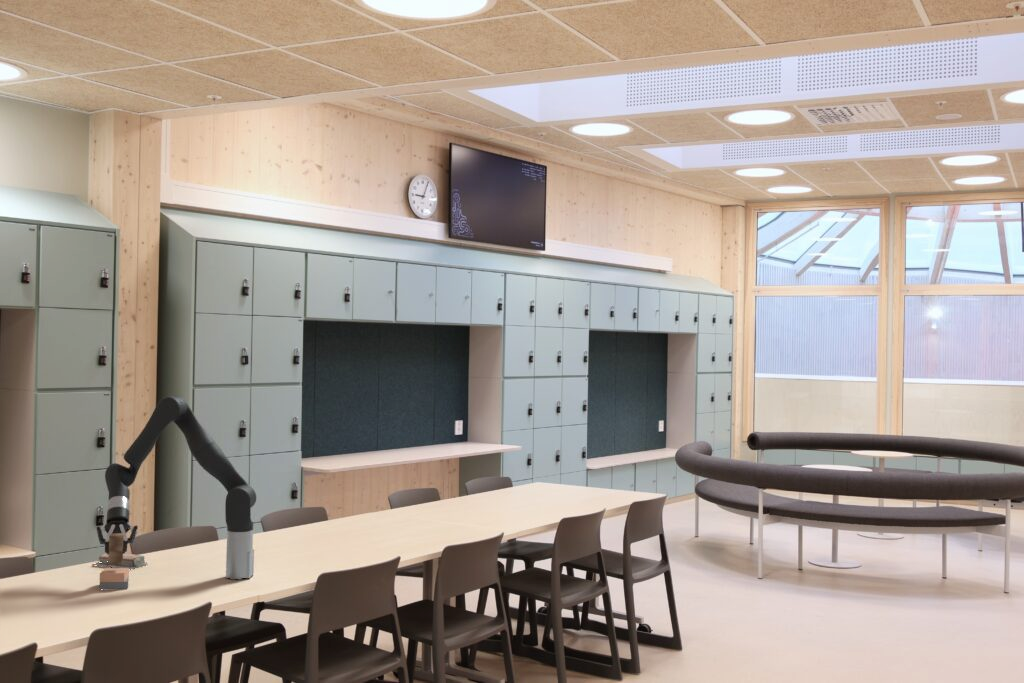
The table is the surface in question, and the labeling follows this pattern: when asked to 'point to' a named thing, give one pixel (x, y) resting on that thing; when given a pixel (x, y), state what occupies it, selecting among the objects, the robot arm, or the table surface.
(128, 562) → the packaged product
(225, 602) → the table surface
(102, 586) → the lower slab
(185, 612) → the table surface
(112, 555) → the brown block
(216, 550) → the table surface
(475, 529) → the table surface
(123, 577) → the upper slab
